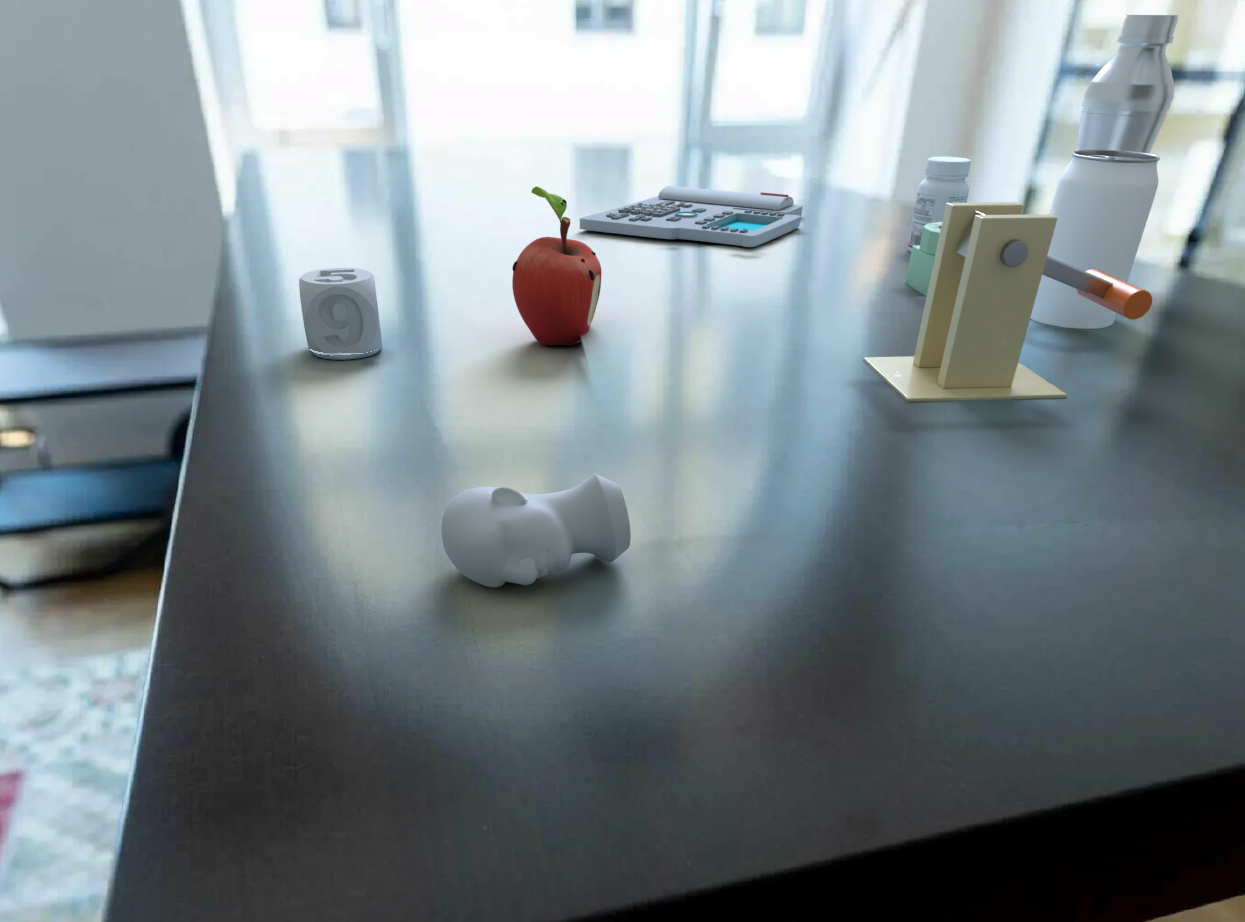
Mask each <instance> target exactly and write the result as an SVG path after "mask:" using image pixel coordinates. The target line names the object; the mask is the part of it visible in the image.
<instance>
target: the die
mask: <svg viewBox="0 0 1245 922" xmlns="http://www.w3.org/2000/svg"><path fill="white" fill-rule="evenodd" d="M298 288H299V289H298V290H299V300H300V307H301V315H302V321H303V328H304V332H305V338H306V342H307V343H306V344H307V347H308V350H309V349H312V350H314V351H318V352H323V353H339V352H340V353H364V354H351V355H333V356H330V355H322V354H317V353H314V352H311V353H312V354H313V355H314V356H316V357H318V358H321V359H324V360H325V359H326V360H332V361H333V360H334V361H338V360H339V361H347V360H349V361H350V360H358V359H363V358H368V357H370V356H373V355H376V354H377V353H379V352H380V351H381V349H382V348H383V339H382V330H381V323H380V313H379V306H378V297H377V288H376V281H375V275H374V274H373V273H372V272H371V271H369V270H366V269H363V268H355V267H330V268H329V267H328V268H321V269H315V270H311V271H308V272H306V273H303V274H302V275H301V276H300V277H299V278H298ZM376 349H377V350H376ZM374 350H375V351H374ZM370 351H372V352H370ZM366 352H368V353H366Z"/></svg>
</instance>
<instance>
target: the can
mask: <svg viewBox="0 0 1245 922" xmlns="http://www.w3.org/2000/svg"><path fill="white" fill-rule="evenodd" d="M1071 156H1072V157H1071V159H1070V161H1069V162H1068V164H1067V165H1066V166H1065V168H1064V169H1063V170H1062V172H1061V173H1060V174H1059V177H1058V181H1057V183H1056V187H1055V191H1054V194H1053V197H1052V201H1051V204H1050V207H1049V208H1050V209H1049V211H1048V214H1049V215H1052V216H1055V217H1057V222H1056V226H1055V229H1054V233H1053V237H1052V240H1051V244H1050V248H1049V251H1048V255H1047V256H1049V257H1052V258H1054V259H1057V260H1059V261H1061V262H1064V263H1066V264H1069V265H1071V266H1073V267H1076V268H1078V269H1080V270H1083V271H1085V272H1086V271H1087V270H1090V269H1097V270H1100V271H1102V272H1104V273H1107V274H1109V275H1111V276H1114V277H1116V278H1118V279H1121V280H1123V281H1125V282H1128V280H1129V278H1130V274H1131V271H1132V268H1133V265H1134V263H1135V259H1136V256H1137V253H1138V249H1139V247H1140V244H1141V241H1142V238H1143V236H1144V235H1143V234H1144V231H1145V228H1146V225H1147V222H1148V218H1149V216H1150V213H1151V209H1152V207H1153V203H1154V201H1155V197H1156V194H1157V191H1158V187H1159V174H1158V162H1159V161H1160V160H1161V157H1160V156H1159V155H1156V154H1152V153H1150V154H1147V153H1140V152H1131V151H1118V150H1078V151H1076V150H1074V151H1072V153H1071ZM1117 314H1118V313H1116V312H1114V311H1112V310H1110V309H1108V308H1106V307H1103V306H1101V305H1099V304H1097V303H1095V302H1093V301H1091V300H1089V299H1087V298H1085V297H1083V296H1081V295H1079V294H1078V292H1077V289H1076V288H1073V287H1071V286H1068V285H1066V284H1064V283H1061V282H1059V281H1056V280H1054V279H1051V278H1049V277H1047V276H1044V275H1042V277H1041V281H1040V284H1039V288H1038V292H1037V295H1036V299H1035V303H1034V306H1033V310H1032V314H1031V317H1030V320H1032V321H1034V322H1037V323H1040V324H1045V325H1049V326H1056V327H1060V328H1068V329H1069V328H1070V329H1082V330H1083V329H1084V330H1085V329H1086V330H1088V329H1090V330H1091V329H1093V330H1095V329H1103V328H1107V327H1110V326H1112V325H1113V324H1114V323H1115V319H1116V317H1117Z"/></svg>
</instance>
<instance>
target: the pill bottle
mask: <svg viewBox="0 0 1245 922" xmlns="http://www.w3.org/2000/svg"><path fill="white" fill-rule="evenodd" d="M971 162H972V160H971V159H969V158H966V157H960V156H959V157H957V156H932V157H931V156H930V157H928V159H927V161H926V166H925V171H924V172H925V173H924V175H925V176H926V178H925V179H923V180H922V181H921V182H920V183H919V185H918V187H917V188H918V189H917V193H916V199H915V204H914V210H913V215H912V221H911V226H910V231H909V237H908V243H907V251H908V252H909V253H911V251H912V246H920V243H921V238H922V233H923V228H924V226H925V225H926V224H929V223H935V222H942V221H943V216H944V211H945V206H946V203H968V198H969V192H970V185H969V184H970V183H969V182H968V181H966V178H968V177H969V175H968V174H969V173H970V170H971V169H970V168H971Z"/></svg>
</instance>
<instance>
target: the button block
mask: <svg viewBox="0 0 1245 922" xmlns="http://www.w3.org/2000/svg"><path fill="white" fill-rule="evenodd" d="M941 225H942V222H935V223H929V224H926V225H925V226H924V228H923V233H922V238H921V243H920V246H912V251H911V252H910V257H909V262H908V267H907V273H906V277H905V278H906V279H905V284H906V285H908V286H909V287H911V288H912V289H913V290H915V291H916V292H918V293H920V294H921V295H923V296H924V297H927V293H928V288H929V283H930V278H931V273H932V269H933V264H934V259H935V254H936V249H937V245H938V240H939V235H940V230H941Z"/></svg>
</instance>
